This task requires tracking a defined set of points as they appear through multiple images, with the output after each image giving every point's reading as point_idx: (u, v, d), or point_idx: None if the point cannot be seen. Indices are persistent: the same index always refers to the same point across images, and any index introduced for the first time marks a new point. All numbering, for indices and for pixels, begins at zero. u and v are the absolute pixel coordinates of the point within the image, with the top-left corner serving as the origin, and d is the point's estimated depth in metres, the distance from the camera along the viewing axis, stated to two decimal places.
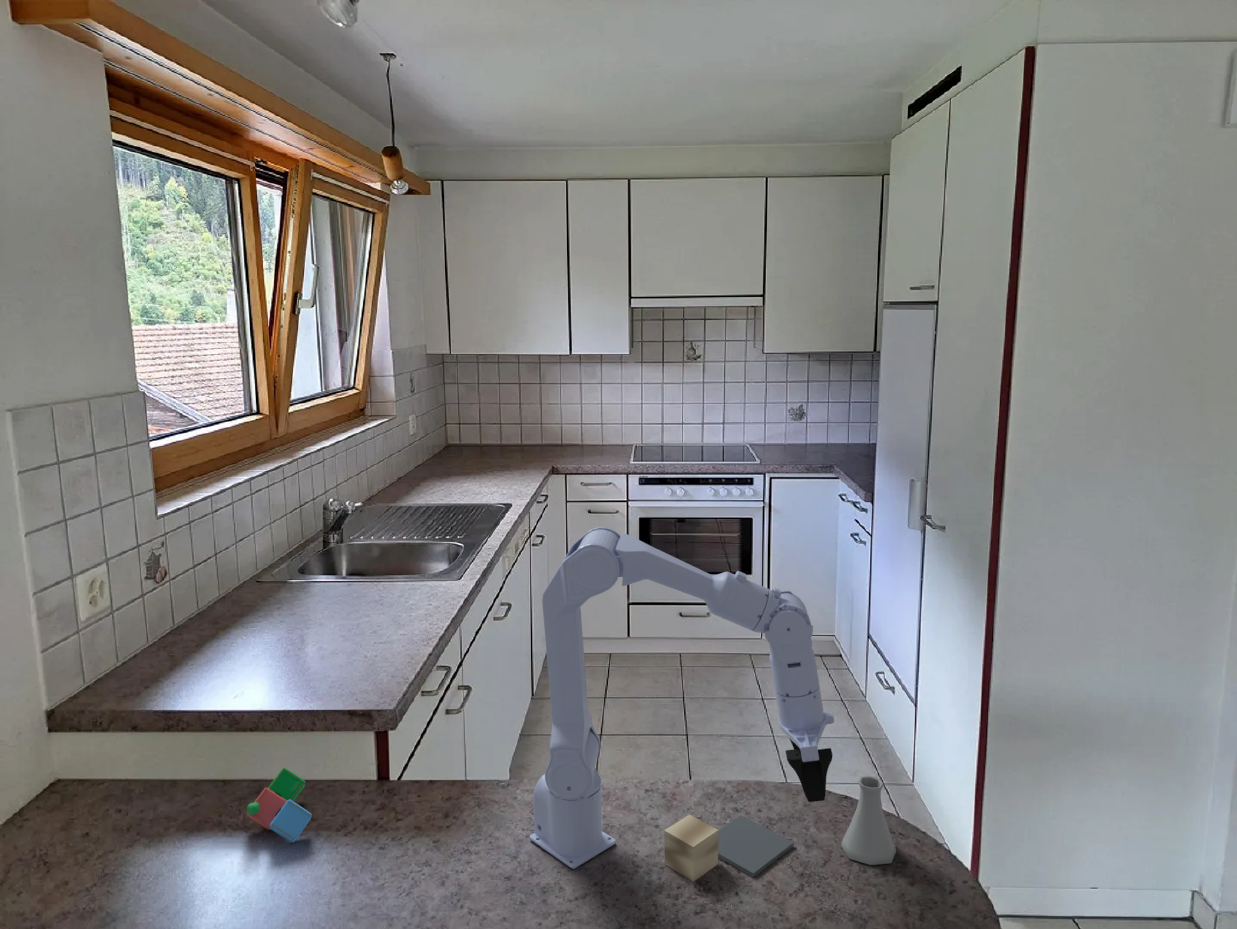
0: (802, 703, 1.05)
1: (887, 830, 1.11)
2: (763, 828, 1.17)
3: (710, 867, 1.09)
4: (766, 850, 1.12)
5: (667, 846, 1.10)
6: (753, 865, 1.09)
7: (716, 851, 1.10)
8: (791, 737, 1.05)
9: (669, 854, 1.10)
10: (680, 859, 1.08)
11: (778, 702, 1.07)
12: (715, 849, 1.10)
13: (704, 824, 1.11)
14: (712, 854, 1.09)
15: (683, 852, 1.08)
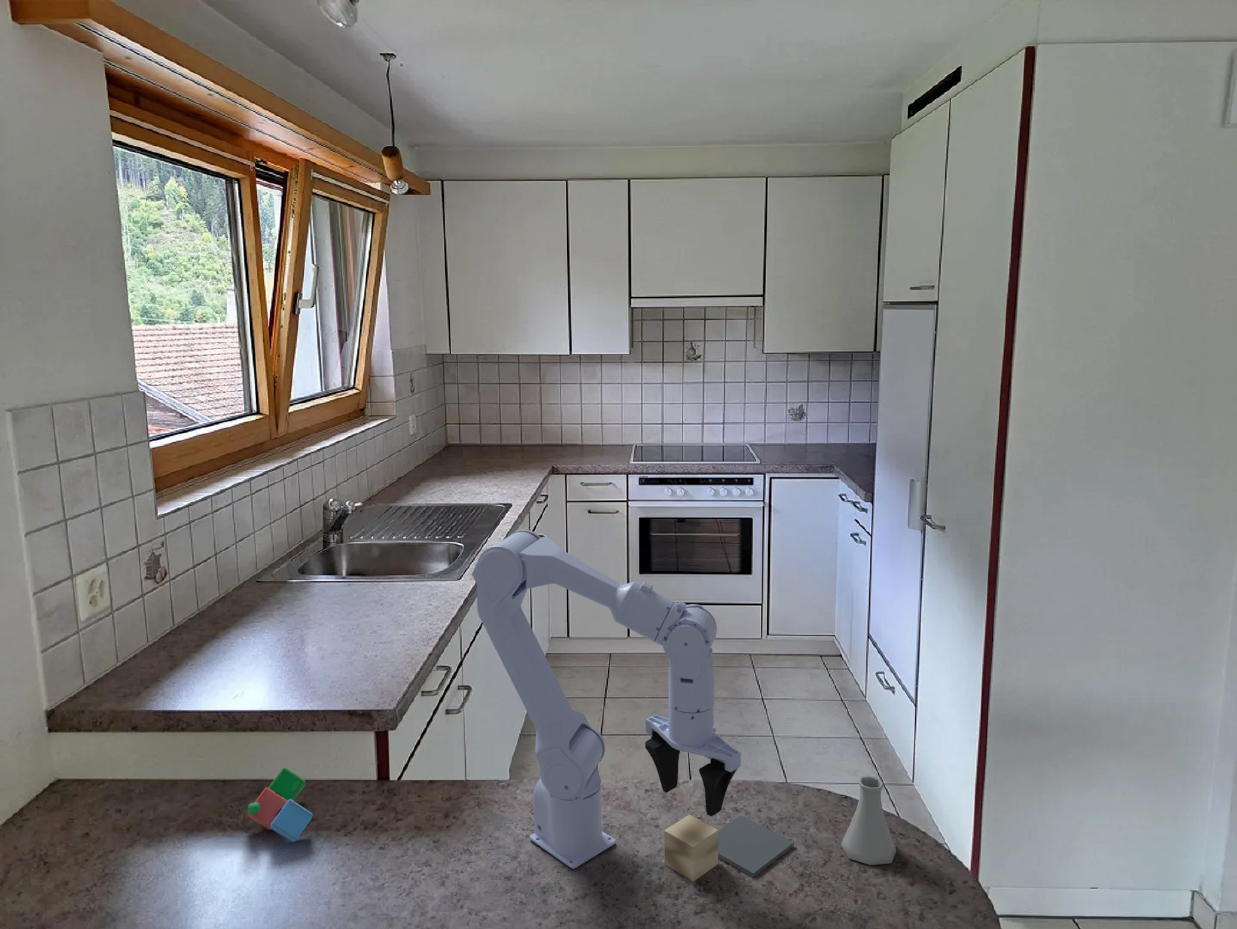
0: (709, 716, 1.05)
1: (887, 830, 1.11)
2: (763, 828, 1.17)
3: (710, 867, 1.09)
4: (766, 850, 1.12)
5: (667, 846, 1.10)
6: (753, 865, 1.09)
7: (716, 851, 1.10)
8: (705, 753, 1.03)
9: (669, 854, 1.10)
10: (680, 859, 1.08)
11: (683, 722, 1.04)
12: (715, 849, 1.10)
13: (704, 824, 1.11)
14: (712, 854, 1.09)
15: (683, 852, 1.08)
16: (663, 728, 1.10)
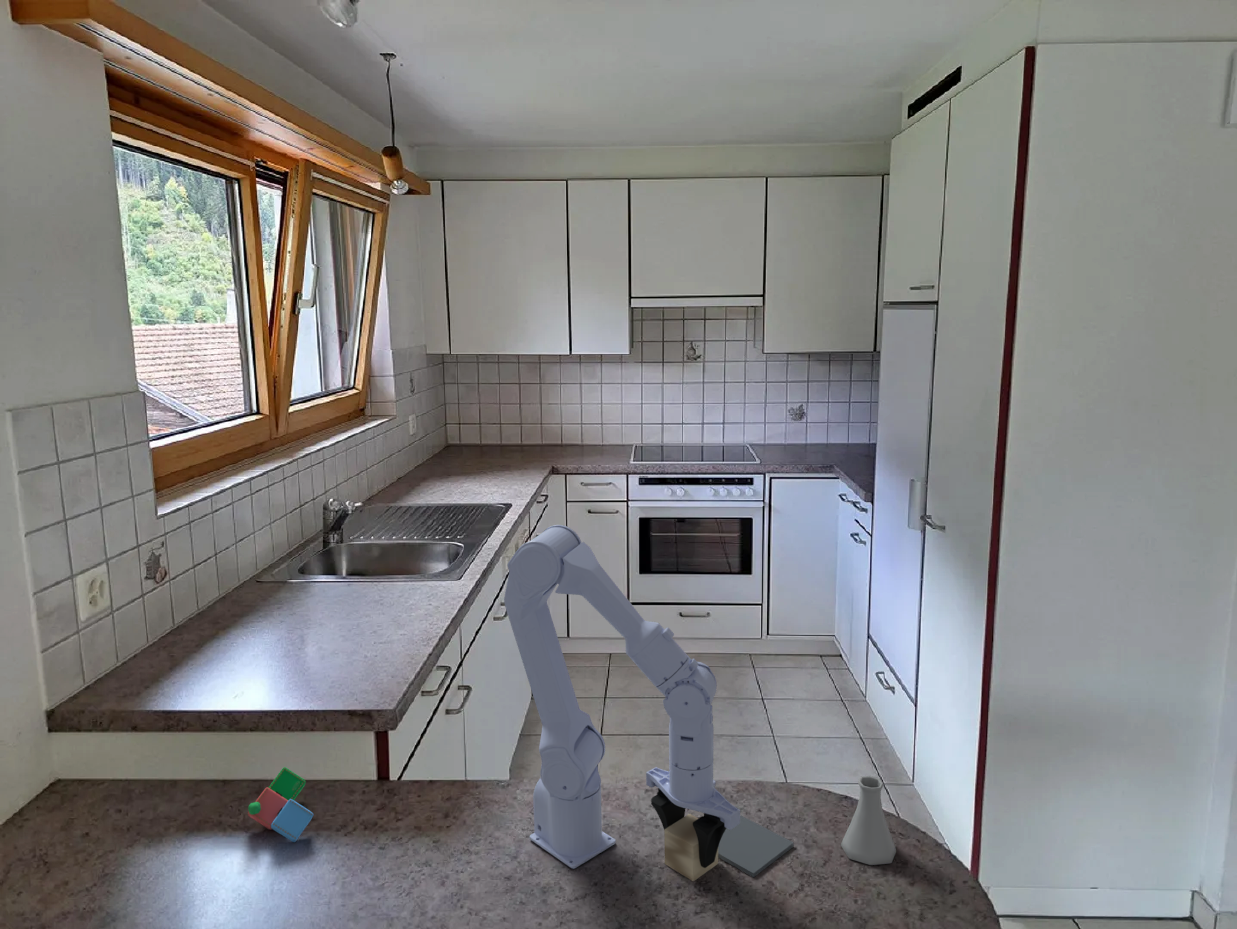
0: (709, 772, 1.06)
1: (887, 830, 1.11)
2: (763, 828, 1.17)
3: (710, 866, 1.09)
4: (766, 850, 1.12)
5: (667, 845, 1.10)
6: (753, 865, 1.09)
7: None
8: (705, 810, 1.05)
9: (669, 853, 1.10)
10: (680, 859, 1.08)
11: (683, 778, 1.06)
12: None
13: None
14: None
15: (683, 851, 1.08)
16: (663, 782, 1.11)
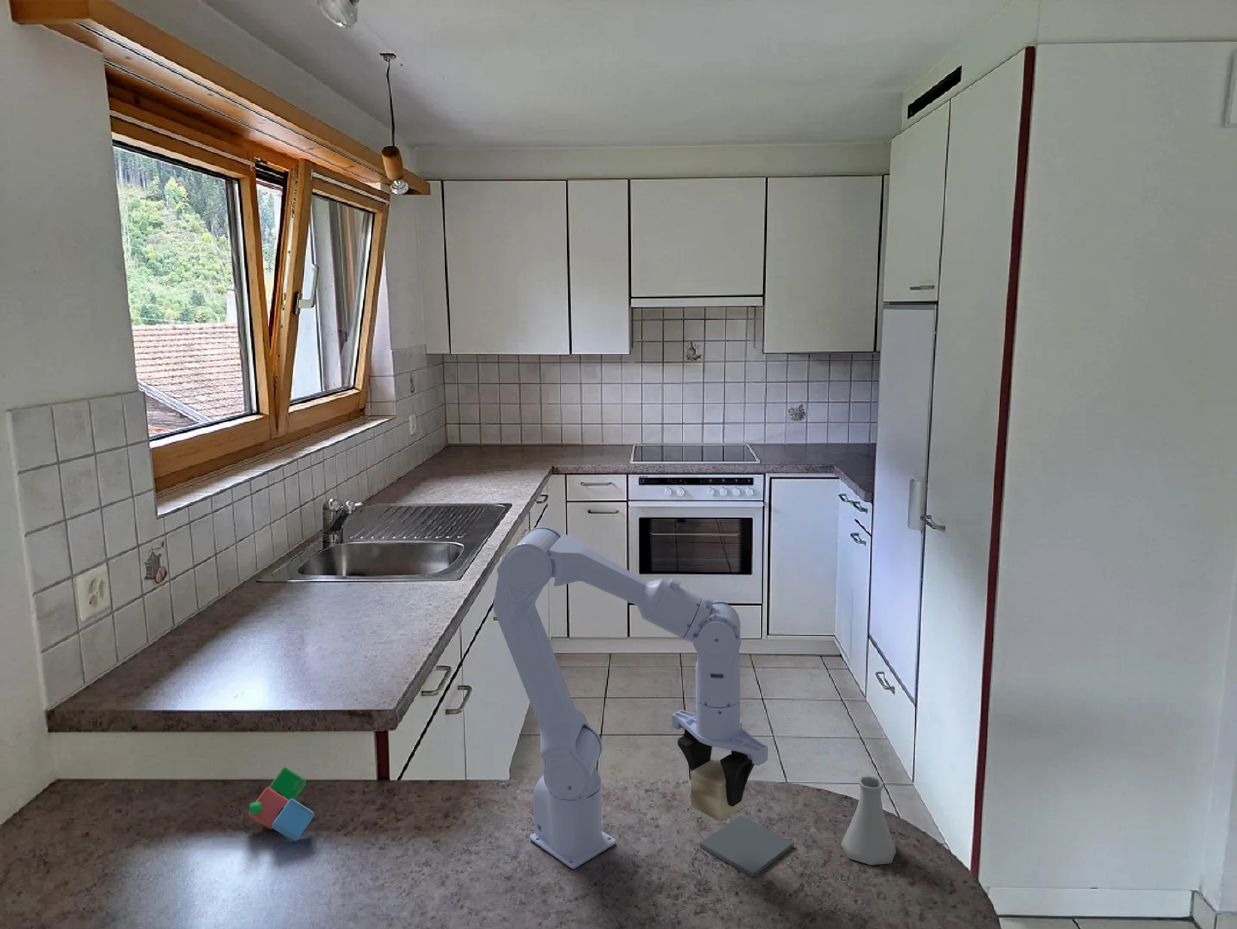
0: (736, 710, 1.06)
1: (887, 830, 1.11)
2: (763, 828, 1.17)
3: (737, 808, 1.09)
4: (766, 850, 1.12)
5: (694, 787, 1.10)
6: (753, 865, 1.09)
7: None
8: (733, 747, 1.05)
9: (696, 795, 1.10)
10: (707, 800, 1.08)
11: (710, 716, 1.06)
12: None
13: None
14: None
15: (710, 792, 1.08)
16: (690, 723, 1.12)
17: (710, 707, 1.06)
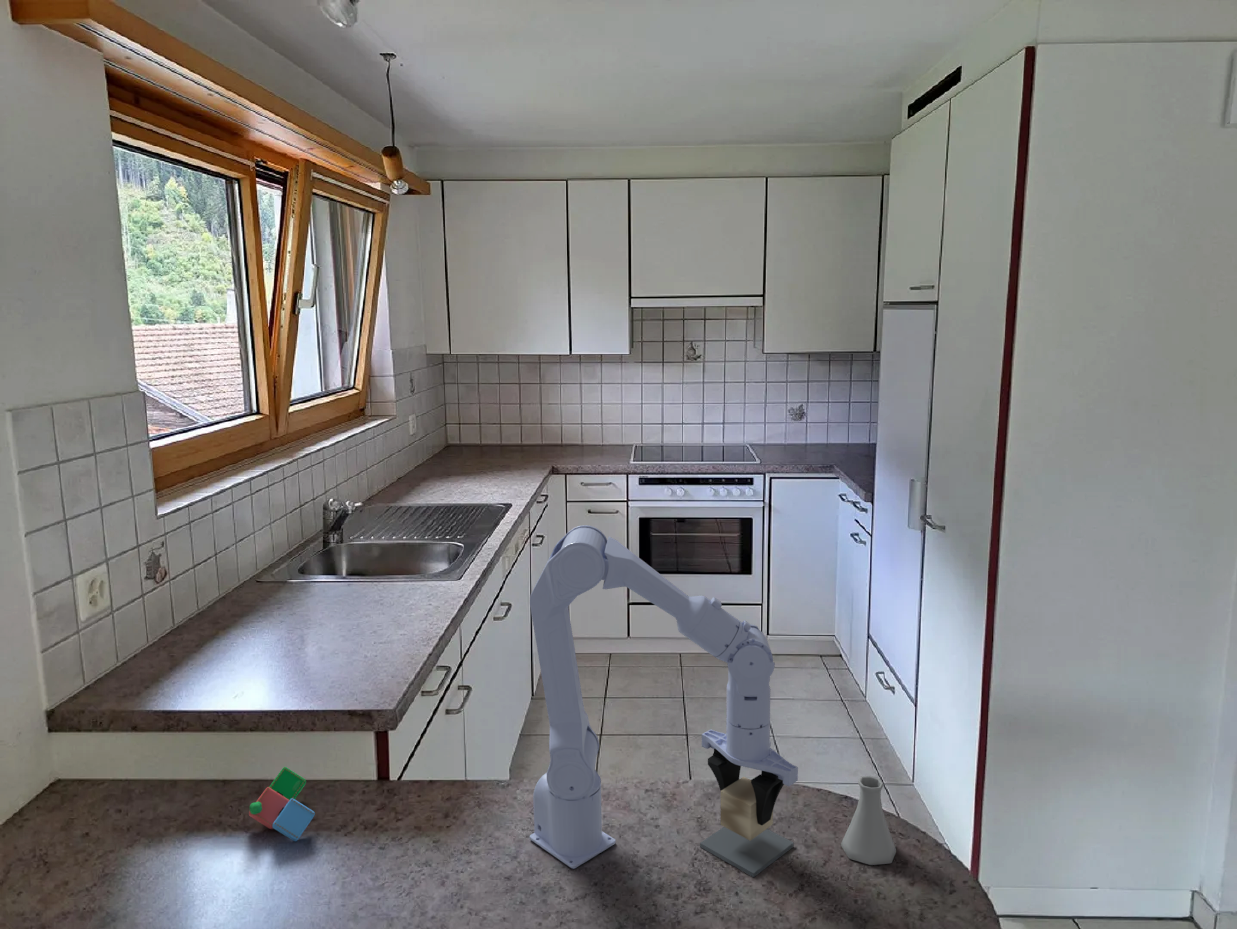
0: (766, 732, 1.09)
1: (887, 830, 1.11)
2: None
3: (765, 827, 1.12)
4: (766, 850, 1.12)
5: (724, 806, 1.12)
6: (753, 865, 1.09)
7: None
8: (764, 767, 1.07)
9: (726, 814, 1.12)
10: (737, 819, 1.11)
11: (741, 737, 1.08)
12: None
13: None
14: None
15: (740, 811, 1.10)
16: (719, 743, 1.14)
17: (741, 728, 1.08)
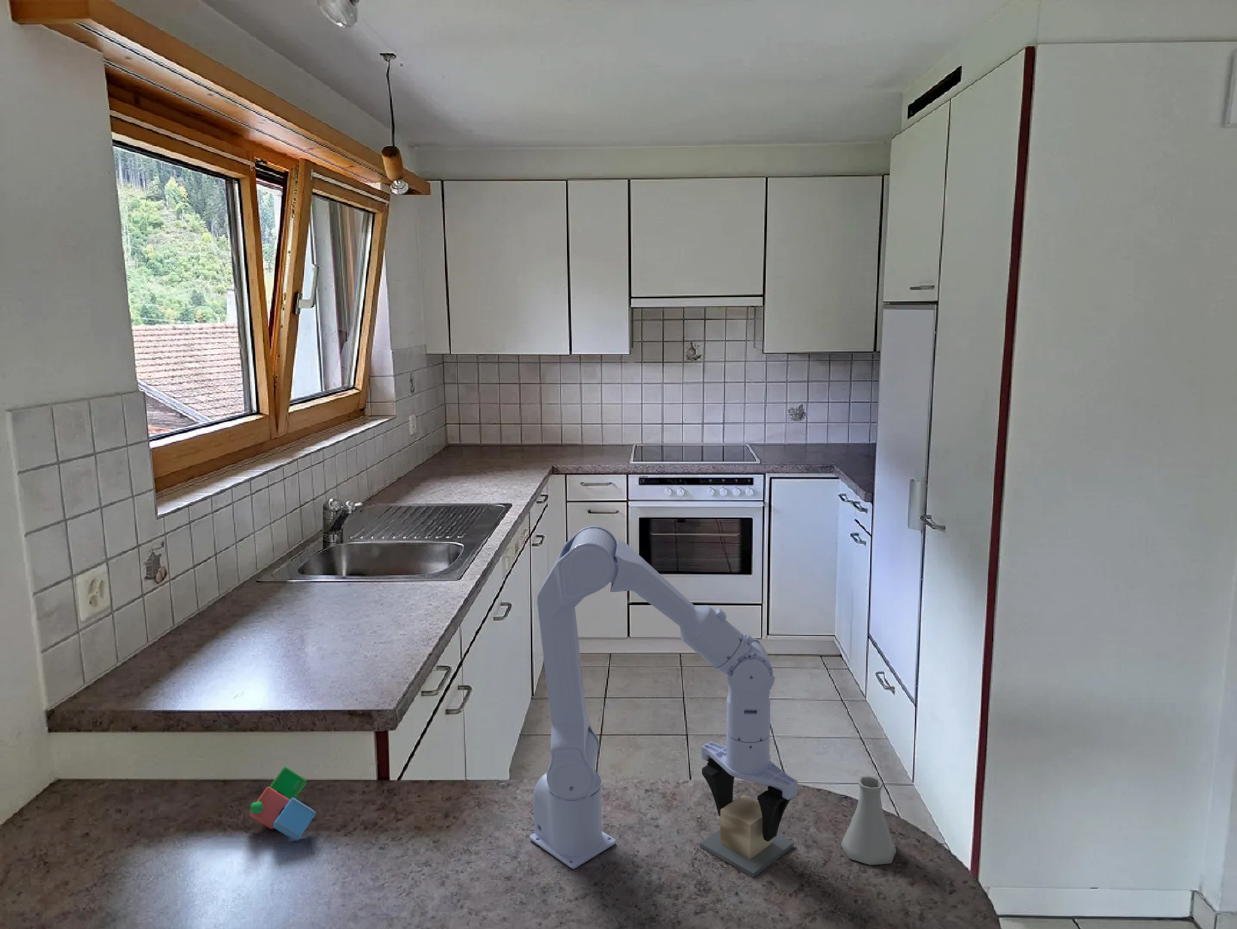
0: (766, 745, 1.09)
1: (887, 830, 1.11)
2: None
3: (765, 845, 1.12)
4: (766, 850, 1.12)
5: (723, 825, 1.13)
6: (753, 865, 1.09)
7: None
8: (763, 781, 1.08)
9: (725, 833, 1.13)
10: (737, 838, 1.11)
11: (741, 751, 1.09)
12: None
13: (758, 804, 1.14)
14: None
15: (739, 830, 1.11)
16: (719, 756, 1.14)
17: (741, 742, 1.08)
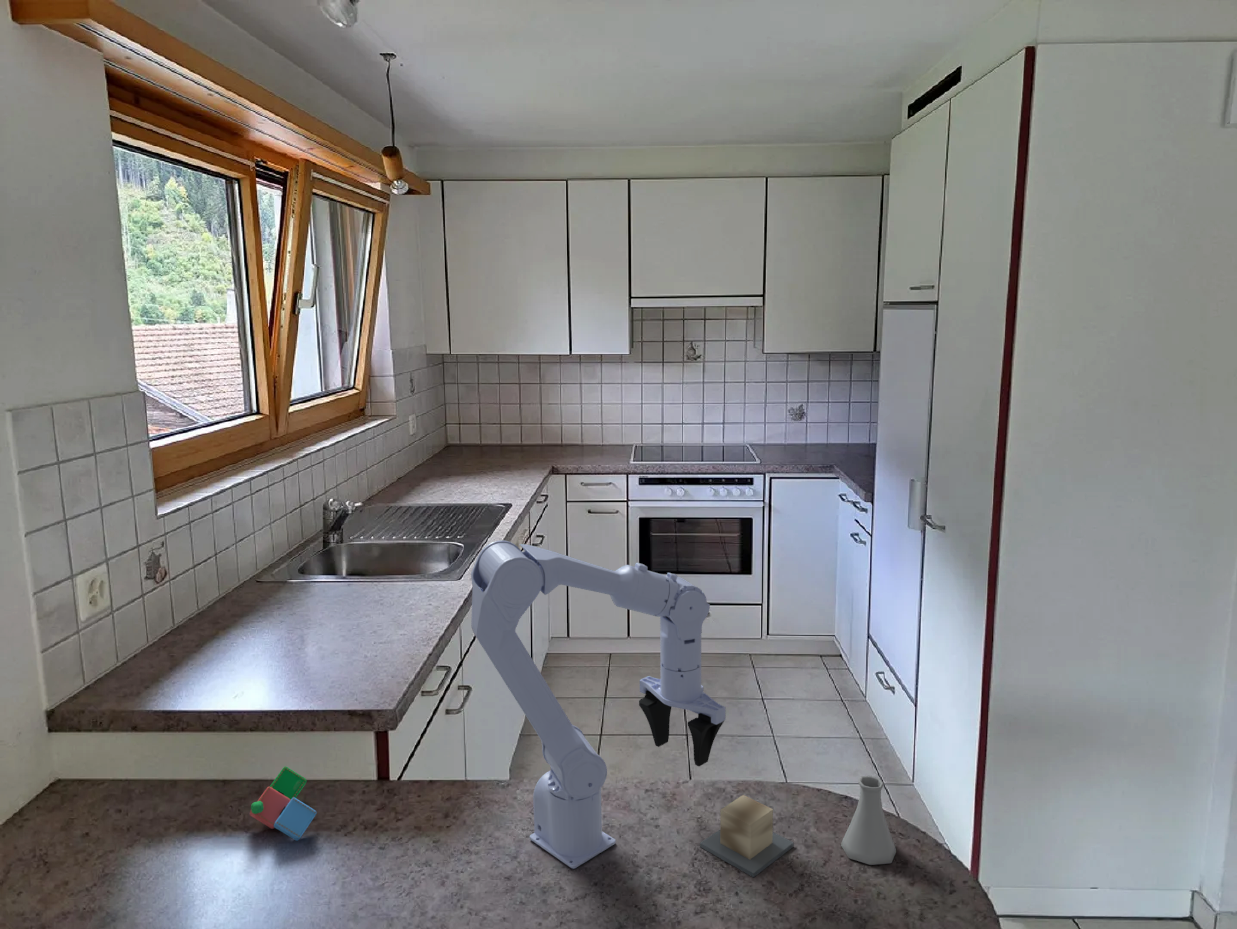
0: (697, 674, 1.15)
1: (887, 830, 1.11)
2: None
3: (765, 845, 1.12)
4: (766, 850, 1.12)
5: (723, 825, 1.13)
6: (753, 865, 1.09)
7: (771, 830, 1.13)
8: (694, 707, 1.14)
9: (725, 833, 1.13)
10: (737, 838, 1.11)
11: (673, 679, 1.15)
12: (770, 827, 1.13)
13: (758, 804, 1.14)
14: (767, 832, 1.12)
15: (739, 830, 1.11)
16: (655, 688, 1.20)
17: (673, 671, 1.14)
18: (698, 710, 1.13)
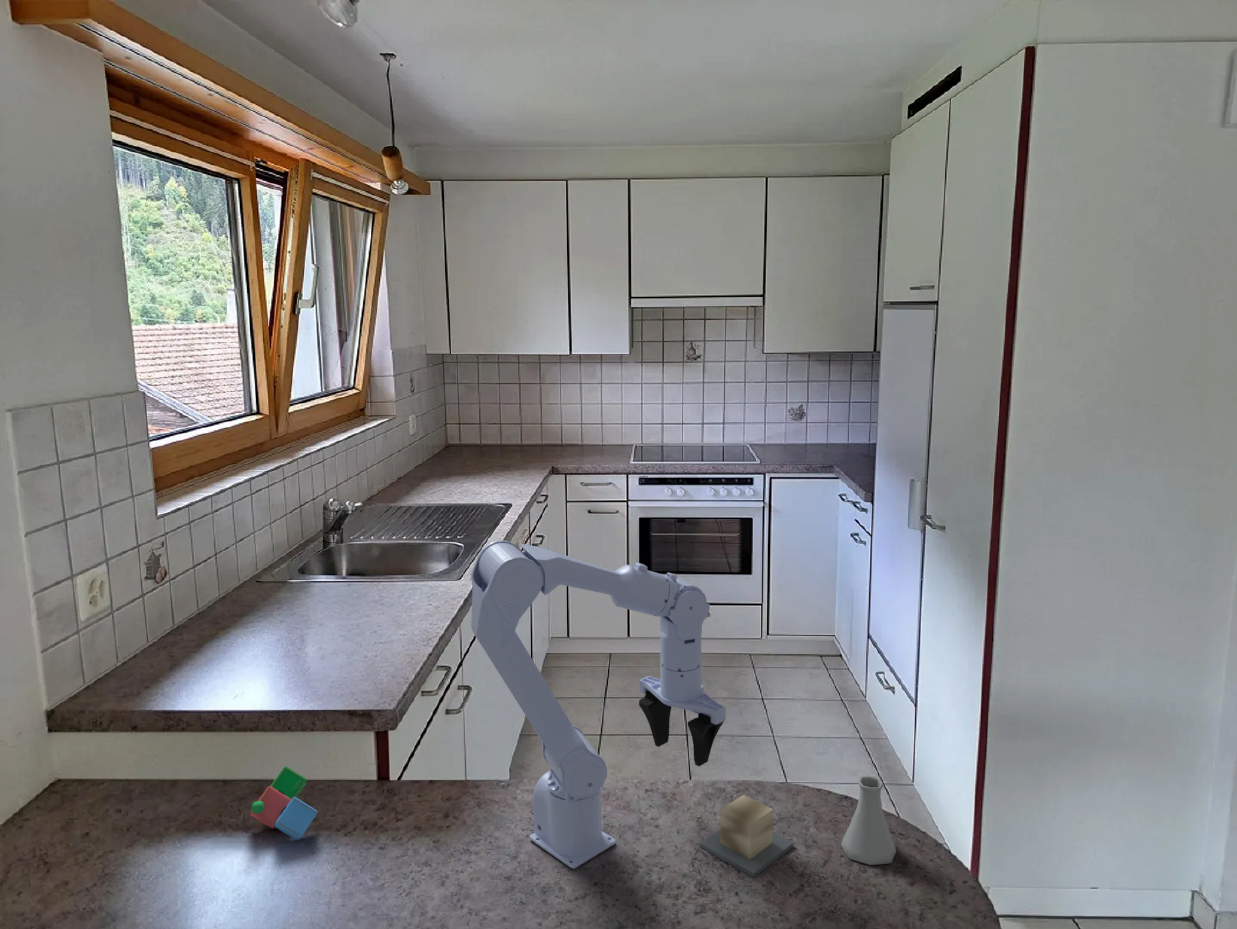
0: (697, 674, 1.15)
1: (887, 830, 1.11)
2: None
3: (765, 845, 1.12)
4: (766, 850, 1.12)
5: (723, 825, 1.13)
6: (753, 865, 1.09)
7: (771, 830, 1.13)
8: (694, 707, 1.14)
9: (725, 833, 1.13)
10: (737, 838, 1.11)
11: (673, 679, 1.15)
12: (770, 827, 1.13)
13: (758, 804, 1.14)
14: (767, 832, 1.12)
15: (739, 830, 1.11)
16: (655, 688, 1.20)
17: (673, 671, 1.14)
18: (698, 710, 1.13)
